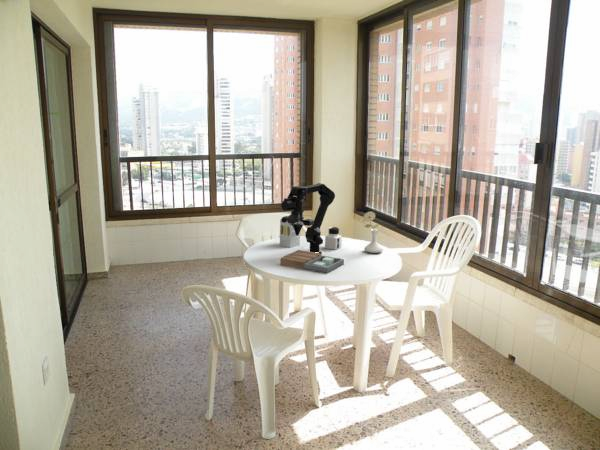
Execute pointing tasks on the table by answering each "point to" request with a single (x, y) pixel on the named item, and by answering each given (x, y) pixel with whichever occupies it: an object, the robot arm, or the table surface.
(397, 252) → the table surface
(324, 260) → the tile
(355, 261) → the table surface
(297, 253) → the tan bevelled block
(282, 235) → the supplement box
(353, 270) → the table surface
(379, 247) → the flower in vase
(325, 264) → the tile
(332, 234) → the container
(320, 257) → the box
